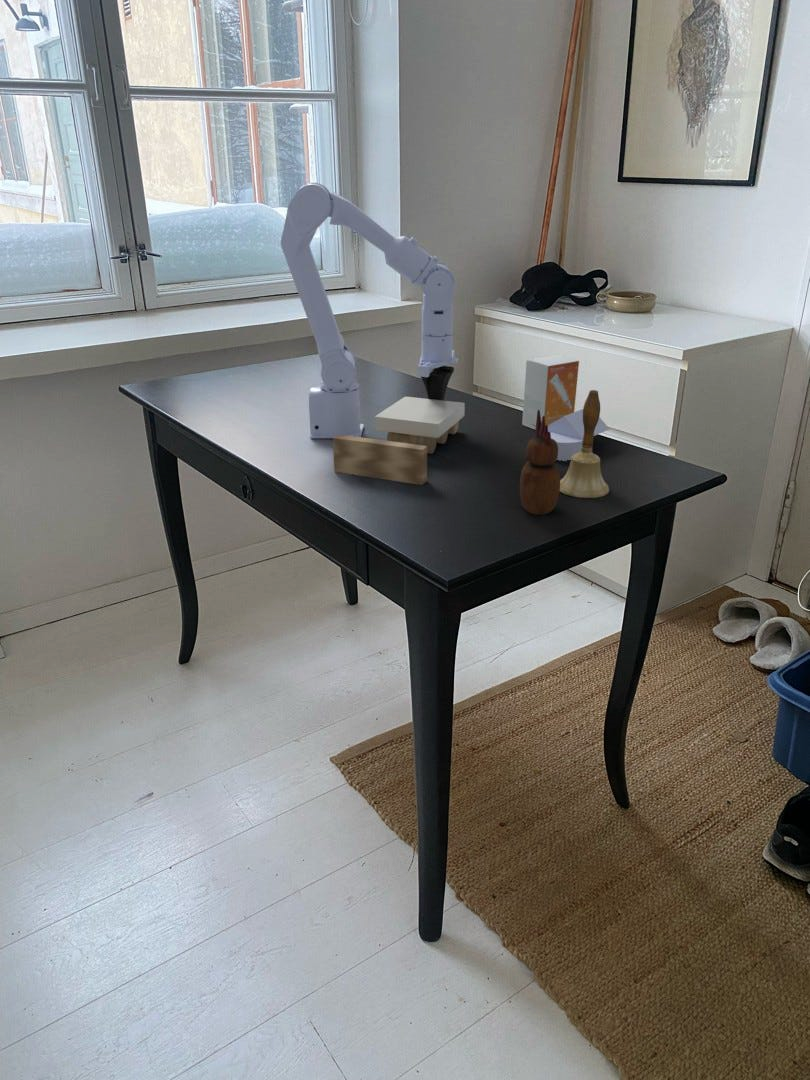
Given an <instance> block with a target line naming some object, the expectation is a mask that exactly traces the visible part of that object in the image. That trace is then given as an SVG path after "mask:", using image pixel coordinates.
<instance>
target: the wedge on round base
mask: <svg viewBox="0 0 810 1080" xmlns="http://www.w3.org/2000/svg"><path fill="white" fill-rule="evenodd" d="M608 430H610V428H609V426H608V425H607V424H606V423H605V422H604V420H603V419H602V418H601V417H600V416H599V420H598V423H597V425H596V427H595V430H594V437H595V436H597V435H599V434H600V435H601V434H602V433H605V432H606V431H608ZM548 432H550V433H551V438H552V439H554V440H555V441H556V442H557V444H558V458H557V460H559V461H561V460H562V461H561V462H568V461H567V460H571V458H572V456H573V455H574V454H576V453H579V452H580V451H581V447H582V443H583V436H584V425H583V408H582V409H579V410H577V411H576V410H575V411H574V413H571V414H568V415H566V416H563V417H562V418H560V419H558V420H556V421H555V422H553V423H551V424H550V425H548Z"/></svg>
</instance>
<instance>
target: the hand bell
mask: <svg viewBox="0 0 810 1080" xmlns="http://www.w3.org/2000/svg"><path fill="white" fill-rule="evenodd" d="M582 409H583V425H584V436H583V443H582V447H581V451H580V452H579V453H576V454H574V455H573V456H572V458H571V461H569V466H568V469H567V472H566V473H565V475H564V476H563V477H562V478H560V492H559V493H562V494H563V495H566V496H570V497H573V498H580V499H596V498H601V497H604V496H607V494H609V492H610V488H609V485H608V483H606V481H605V480H604V478H603V476H602V472H601V471H602V470H601V458H600V457H599V456H598V455H597V454H595V453H593V447H594V437H595V436H594V430H595V427H596V425H597V423H598V420H599V417H600V414H601V402H600V396H599V391H598V390H595V389H592V390H589V392H588V394H587V397H586V400H585V401H584V405H583V408H582Z"/></svg>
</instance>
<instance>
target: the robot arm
mask: <svg viewBox="0 0 810 1080" xmlns="http://www.w3.org/2000/svg"><path fill="white" fill-rule="evenodd" d="M285 216H286V217H285V220H284V225H283V228H282V229H283V230H282V234H281V239H280V245H281V247H280V248H281V249H282V252H283V255H284V258H285V260H286V263H287V266H288V269H289V272H290V274H291V278H292V279H293V283H294V285H295V288H296V291H297V293H298V297H299V299H300V302H301V305H302V308H303V309H304V312H305V315H306V319H307V321H308V323H309V326H310V330H311V332H312V335H313V338H314V340H315V342H316V343H315V344H316V348H317V352H318V357H319V359H320V363H321V371H320V377H321V380H322V381H321V382H320V385H319V386H313V387H310V389H309V393H308V410H309V412H308V413H309V414H308V415H309V428H310V435H309V438H310V439H333V437H335V436H336V435H338V434H340V435H347V436H355V437H362V434H363V430H364V427H365V425H364V424H363V423H361V419H360V418H361V416H360V413H361V412H360V384H359V382H357V381H356V377H357V376H356V375H357V372H356V366H357V359H356V356H355V355H354V353H353V352H352V351H351V350H350V349H349V348H348V347H347V345H346V342H345V340H344V337H343V335H342V333H341V331H340V330H339V327H338V324H337V321H336V318H335V314H334V313H333V312H334V311H333V309H332V307H331V304H330V300H329V298H328V296H327V292H326V289H325V287H324V283H323V280H322V278H321V274H320V272H319V269H318V266H317V263H316V260H315V257H314V254H313V252H312V250H311V247H310V246H311V242H312V240H313V239H314V236H315V235H316V233H317V230H318V229H319V227H320V226H321V225H323V223H324V222H325V221H326V220H327V219H328V218H330V221H329V224H330V225H334V226H345V227H347V228H349V229H351V231H353V232H355V233H356V234H358V235H359V236H361V237H362V238H363V239H364V240H366V241H367V242H369V243H370V244H371V245H373V246H375V248H377V249H378V250H380V252H382V253H384V259H385V264H386V265H387V266H388V267H390V268H391V269H393V271H395V272H396V273H398V274H399V275H401V276H402V277H403V278H405V279H406V280H407V281H408V282H410V283H411V284H412V285H414V286H420V288H421V290H422V292H423V293H422V294H423V295H422V307H421V351H420V352H421V354H420V355H421V356H420V358H419V364H418V365H417V368H416V369H417V371H416V372H417V373H416V376H417V377H420V378H421V380H422V382H423V384H424V387H425V390H426V391H425V392H426V395H427V399H433V400H442V401H445V397H446V392H447V388H448V384H449V382H450V379H451V377H452V375H453V374H454V372H455V367H453V366H448V365H456V364H457V363H459V358H457V357H455V353H456V351H455V350H454V349H453V335H454V334H453V333H454V332H453V331H454V330H453V329H454V328H453V327H454V308H453V303H454V298H453V295H454V294H455V292H456V289H457V283H456V279H455V276H454V275H453V272H451V271H450V269H449V268H448V267H447V266H446V264H445V263H443V262H441V261H440V258H439V257H438V256H436V255H433V256H432V255H431V254H430V253H428V252H427V251H425V250H424V249H423V248H422V247H420V246H419V245H418V244H419V241H418V240H417V239H416V238H415V237H413V236H412V237H411V238H409V237H407V236H406V235H400V236H393V235H392V234H391V233H390V232H388V231H387V230H386V229H385V228H383V227H382V226H381V225H380V224H378V223H377V222H376V221H375V220H374V219H372V217H370V216H369V215H368V214H366V213H365V212H364V211H362V210H361V209H360V208H359V207H358V206H356V205H355V204H354V203H353V202H351V201H350V200H348V198H347V199H346V198H345V197H343V196H342V195H340V194H338V193H336V192H334V191H331V192H330V190H329V189H328V188H327V187H326V186H325V185H324V184H322V183H319V182H309V183H306V184H304V185H303V186H301V187H300V188H299V189H298V190H297V191H296V192H295V193H294V195H293V197H292V198H291V200H290V202H289V203H288V205H287V208H286V215H285ZM439 261H440V262H439Z"/></svg>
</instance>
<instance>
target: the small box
mask: <svg viewBox="0 0 810 1080" xmlns="http://www.w3.org/2000/svg"><path fill="white" fill-rule="evenodd" d="M579 366H580V361H579V360H578V359H574V358H571V357H567V356H565V355H560V354H555V355H550V356H549V355H548V356H541V357H537V358H531V359H526V362H525V377H524V378H525V379H524V391H523V392H524V393H523V407H522V408H523V409H522V420H521V421H522V422H521V423H522V424H521V425H522V426H525V427H527V428H530V429H532V430H535V429H536V420H537V412H538V410H540V417H541V421H542V417H543V416H545V425H550V424H551V423H553V422H555V421H556V420H558V419H560V418H562V417H563V416H566V415H568V414H571V413H574V412H575V409H576V408H575V406H576V397H577V386H578V376H579Z"/></svg>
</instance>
